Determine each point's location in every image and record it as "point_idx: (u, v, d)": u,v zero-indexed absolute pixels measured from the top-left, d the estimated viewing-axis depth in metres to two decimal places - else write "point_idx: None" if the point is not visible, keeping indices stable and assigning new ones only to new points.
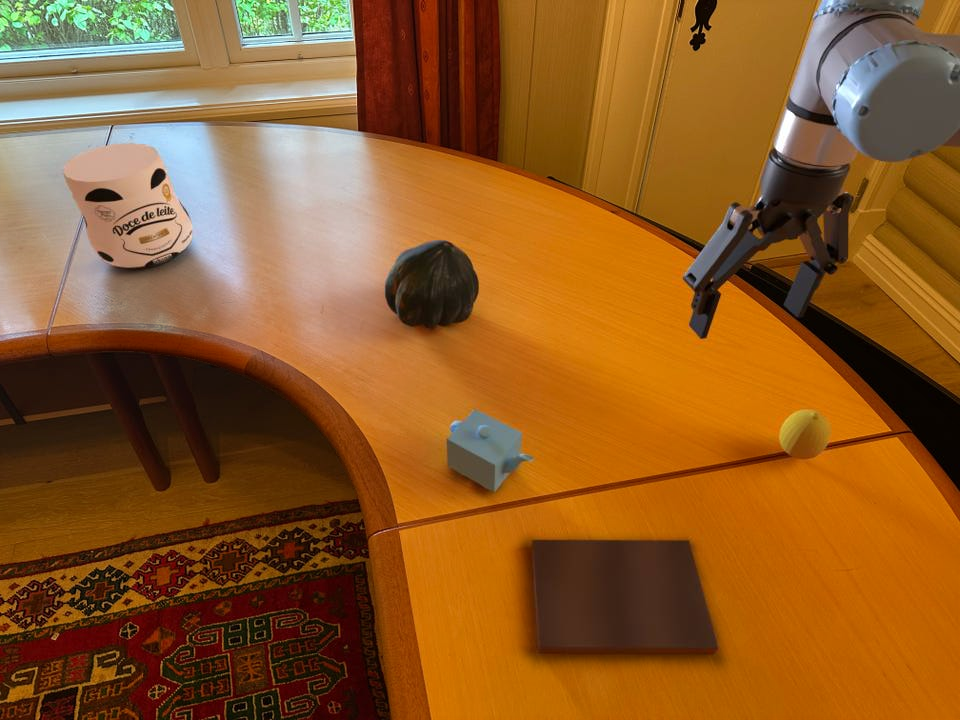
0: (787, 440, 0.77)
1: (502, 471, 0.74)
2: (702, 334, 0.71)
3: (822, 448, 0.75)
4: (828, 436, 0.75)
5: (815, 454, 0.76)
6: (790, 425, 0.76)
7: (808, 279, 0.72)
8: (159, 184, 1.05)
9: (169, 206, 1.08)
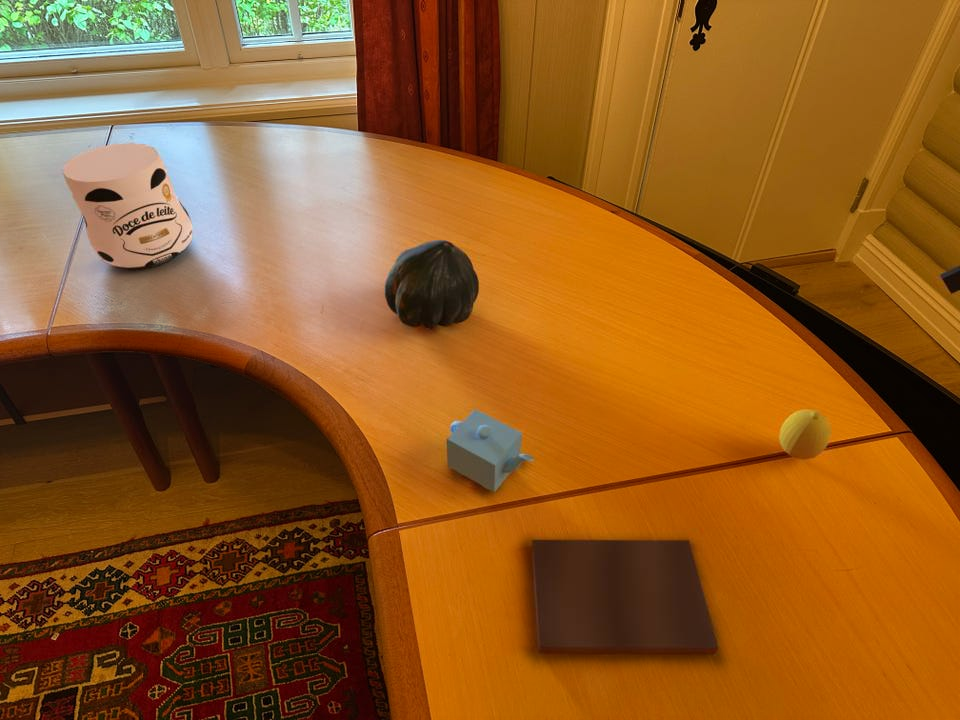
0: (787, 440, 0.77)
1: (502, 471, 0.74)
2: (946, 272, 0.67)
3: (822, 448, 0.75)
4: (828, 436, 0.75)
5: (815, 454, 0.76)
6: (790, 425, 0.76)
7: None
8: (159, 184, 1.05)
9: (169, 206, 1.08)
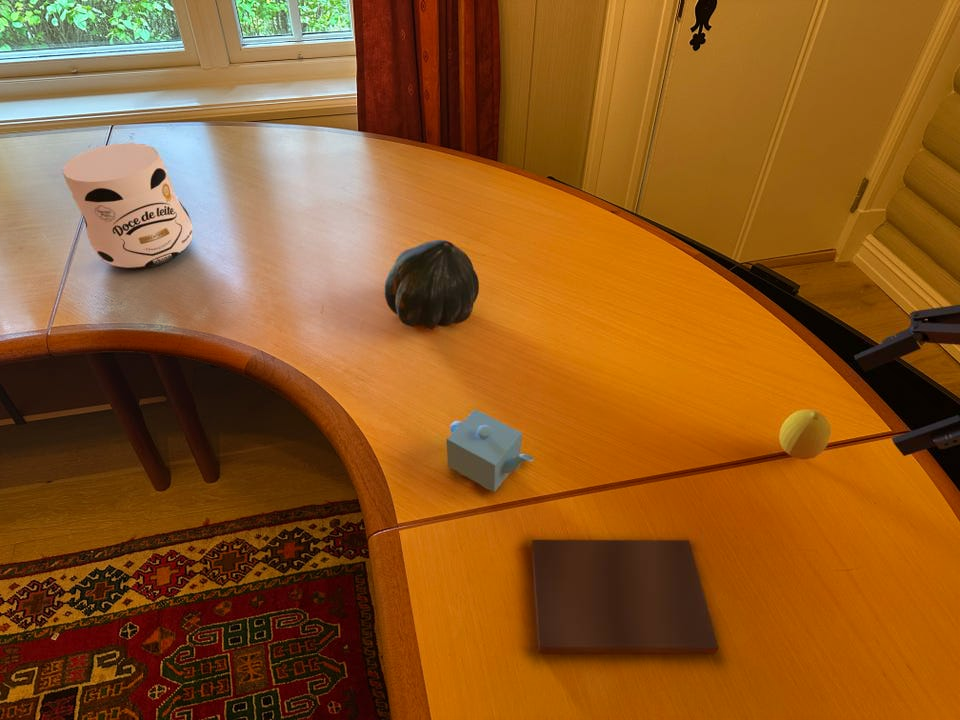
0: (787, 440, 0.77)
1: (502, 471, 0.74)
2: (859, 353, 0.76)
3: (822, 448, 0.75)
4: (828, 436, 0.75)
5: (815, 454, 0.76)
6: (790, 425, 0.76)
7: None
8: (159, 184, 1.05)
9: (169, 206, 1.08)
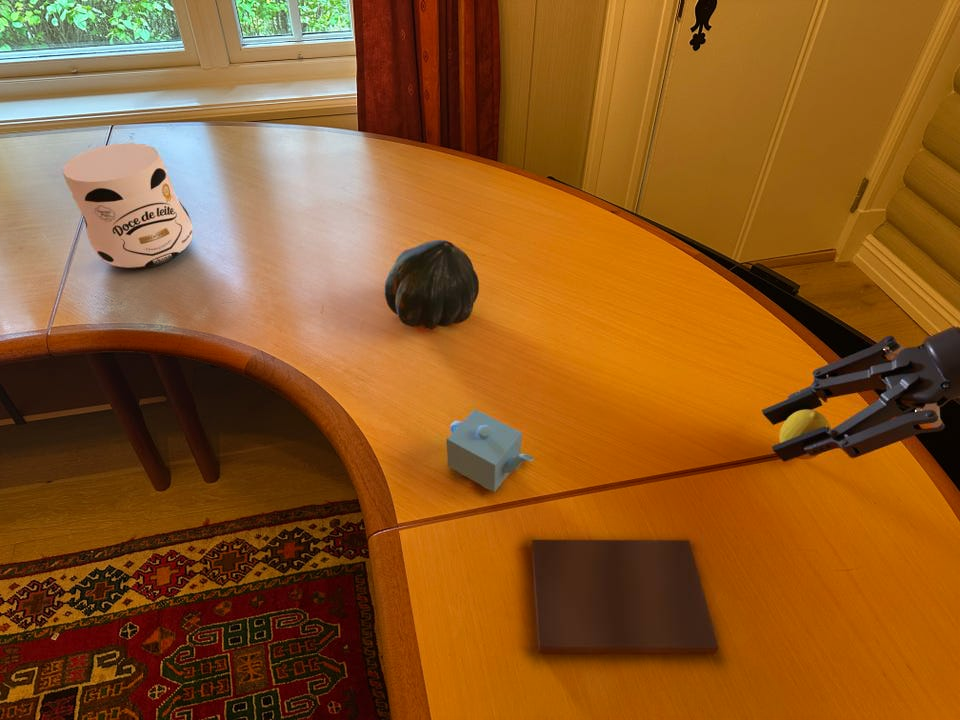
0: None
1: (502, 471, 0.74)
2: (767, 408, 0.80)
3: None
4: None
5: None
6: (790, 425, 0.76)
7: None
8: (159, 184, 1.05)
9: (169, 206, 1.08)
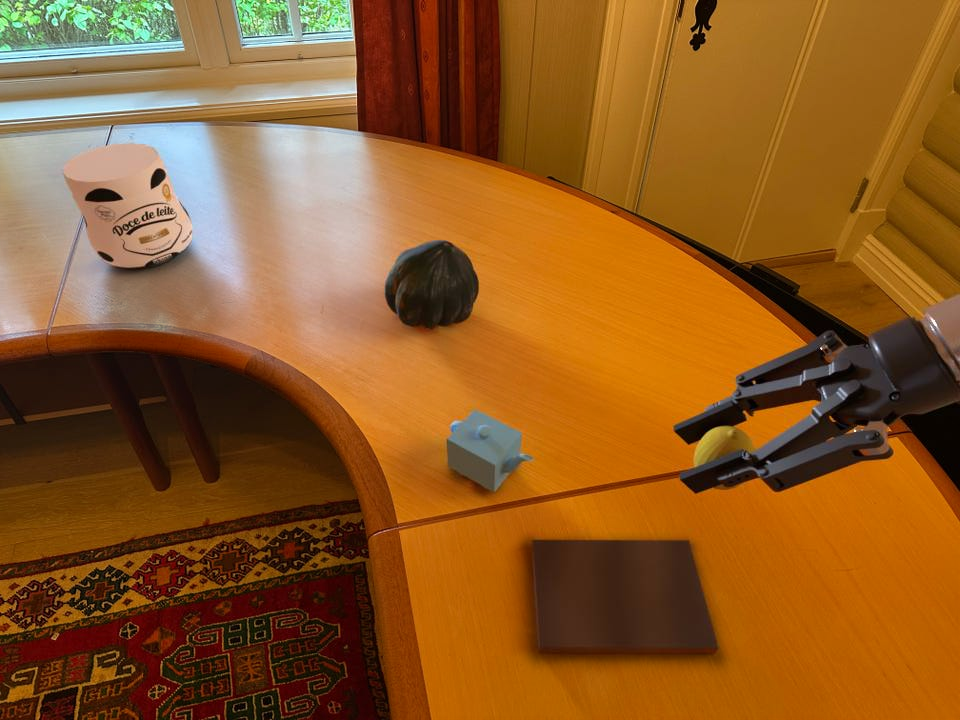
0: None
1: (502, 471, 0.74)
2: (679, 423, 0.63)
3: None
4: None
5: None
6: (704, 447, 0.59)
7: None
8: (159, 184, 1.05)
9: (169, 206, 1.08)
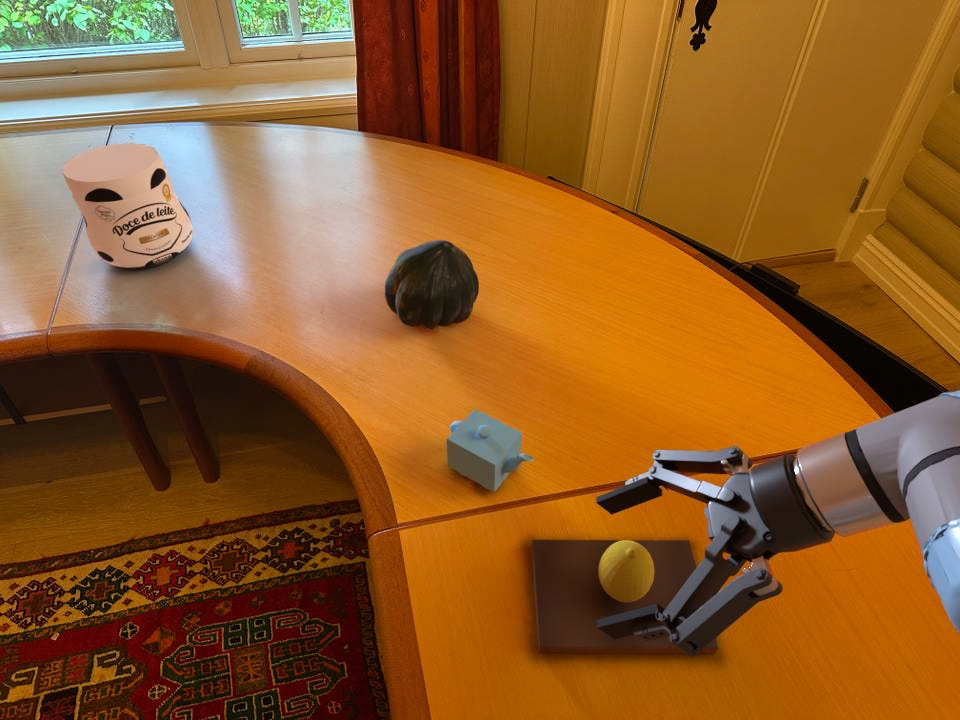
0: (602, 580, 0.62)
1: (502, 471, 0.74)
2: (601, 495, 0.66)
3: (642, 592, 0.60)
4: (648, 579, 0.60)
5: (634, 598, 0.61)
6: (604, 563, 0.61)
7: None
8: (159, 184, 1.05)
9: (169, 206, 1.08)
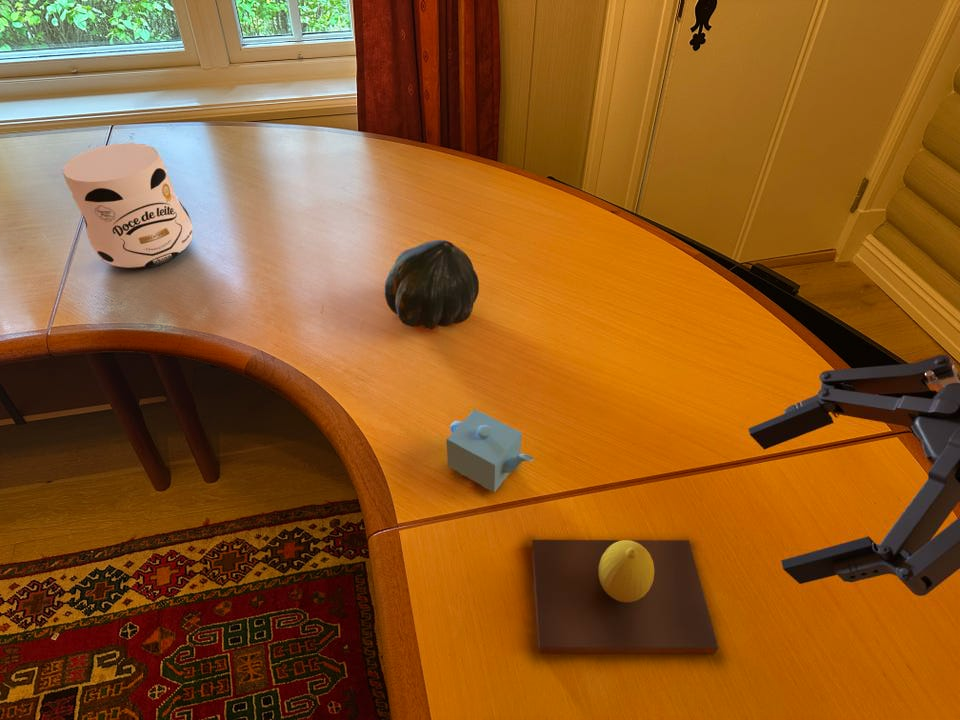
0: (602, 580, 0.62)
1: (502, 471, 0.74)
2: (755, 426, 0.57)
3: (642, 592, 0.60)
4: (648, 579, 0.60)
5: (634, 598, 0.61)
6: (604, 563, 0.61)
7: None
8: (159, 184, 1.05)
9: (169, 206, 1.08)
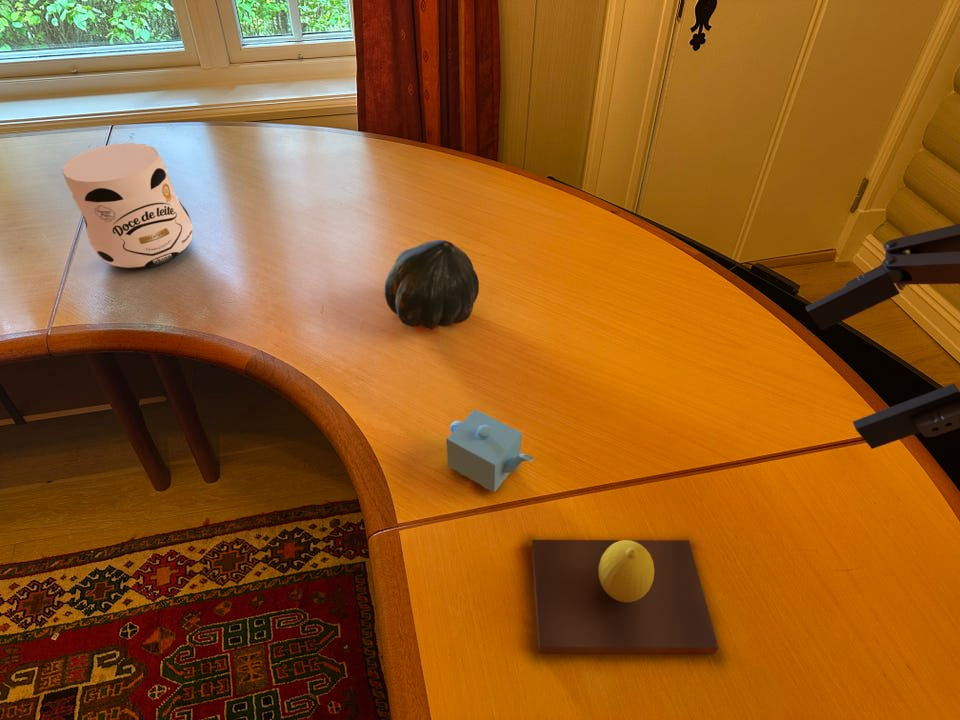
0: (602, 580, 0.62)
1: (502, 471, 0.74)
2: (813, 303, 0.53)
3: (642, 592, 0.60)
4: (648, 579, 0.60)
5: (634, 598, 0.61)
6: (604, 563, 0.61)
7: None
8: (159, 184, 1.05)
9: (169, 206, 1.08)
